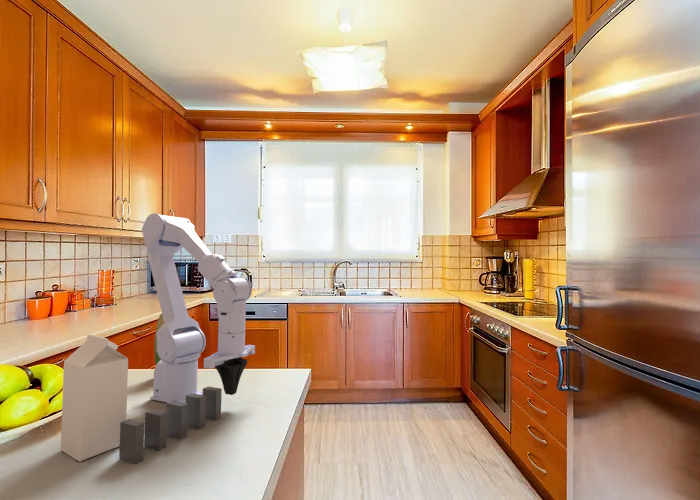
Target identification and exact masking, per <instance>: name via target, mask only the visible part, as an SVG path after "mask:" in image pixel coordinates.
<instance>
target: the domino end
mask: <svg viewBox="0 0 700 500" xmlns="http://www.w3.org/2000/svg"><path fill="white" fill-rule="evenodd" d="M144 429H145V421H140V420H136V419H132V418H126V420H125V421H122V422H120V446H119V453H118V455H119V457H118V461H122V462H125V463H128V464H131V465H136V464H139V463H141V462H142V461H144V450H145V449H144V448H145V447H144Z"/></svg>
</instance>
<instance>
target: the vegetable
mask: <svg viewBox="0 0 700 500" xmlns="http://www.w3.org/2000/svg"><path fill="white" fill-rule="evenodd" d="M163 324H164V319H163V315H162V312H161V313H160V315H159V317H158V319H157V322H156V327H155V334H154V341H153V345H154V346H153V350H154V351H153V353H154V365H155V366H156V365H157V363H158V362H159V361H160V360H161V359H160V357H159V355H158V353H157V336H156V332H157V331H158V330H159V329H160V327H161V326H162V325H163ZM174 333H177V332H174Z"/></svg>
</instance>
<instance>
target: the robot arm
mask: <svg viewBox="0 0 700 500" xmlns="http://www.w3.org/2000/svg"><path fill="white" fill-rule="evenodd" d="M195 228H196V226H195V225H194V224H193V223H192V222H191V220H190V219H189V218H187V217H179V216H172V215H164V214H159V213H156V212H153V213H150V214H149V215H148V216H147V217H146V219H145V221H144V223H143V225H142V227H141V232H142V236H143V240H144V244H145V248H146V251H147V257H148V261H149V266H150V272H151V275H152V278H153V283H154V287H155V290H156V296H157V298H158V303H159V305H160V306H159V307H160V311H161V313H162V315H163V319H164V324H163V325H162V326H161V327H160V329H159V330H158V331H157V332H156V331H155V333H156V336H157V353H158V355H159V357H160V359H161V360H160V361H159V362H158V363H157V365H155V368H154V369H153V389H152V390H153V391H152V392H153V393H152V394H153V395H152V396H150V397H149V399H150V400H154V401H159V402H162V403H166V404H167V403H169V402H171V401H178V402H183V403H186V395H188V394H191V393H194V394H199V395H203V390H202V391H201V390H198V374H199V373H198V370H199V365H198V363H199V358H200V357H201V353H203V352H204V350H205V348H206V341H207V338H206V335H205V334H204V332H203V331H202V330H201V327H200V325H199V322H198V321H196V320H195V319H193V318H192V317H191V316H189V313H188V310H187V309H188V308H187V305H186V301H185V297H184V294H183V290H182V287H181V282H180V278H179V275H178V271H177V267H176V264H175V259H174V256H175V254H176V253H179V251H181V249H182V248H184V250H185V251H187V253H189V255H190V256H191V257H192V258H194V260H195V261H196V262H197V263H198V267H197V269H198V272H199V273H200V274H201V275H202V276H203V278H204V279H205V280H206V281H207V283H209V285H210V286H211V288H213V290H212V295H213V298H214V300H215V302H216V310H217V312H218V325H217V327H218V332H217V333H218V334H217V335H218V337H217V351H216V352H215V353H212V354H211V355H210V356H207V357H205V358H203V369H209V370H213V369H214V368H215V369H216V371H217V373H218V374H219V376H220V380H221V383H222V387H223V391H224V394H225V395H230V396H234V395H235V394H237V391H238V387H239V383H240V380H241V377H242V374H243V372H244V370H245V368H246V366H247V365H248V359H246V358H245V357H248V356H249V355H255V354H256V345H253V344H247V345H246V313H247V311H246V309H247V306H246V305H247V301H248V300H249V299H250V297H251V295H252V288H253V287H252V285H251V282H250V281H249V279H248V278H247V277H245V276H240V275H239V274H237V272H236V271H235V270H233V268H232V267H231V266H229V264H228V263H227V262H226V261H225V260H226V258H225V257H224V256H223V255H220V254H217V253H211V251H210V250H209V248H208V247H207V246H206V244H205V243H204V242H203V240H202V239H201V238H200V237H199V235H198V234H197V233H196V231H195ZM174 332H177V333H174Z"/></svg>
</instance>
